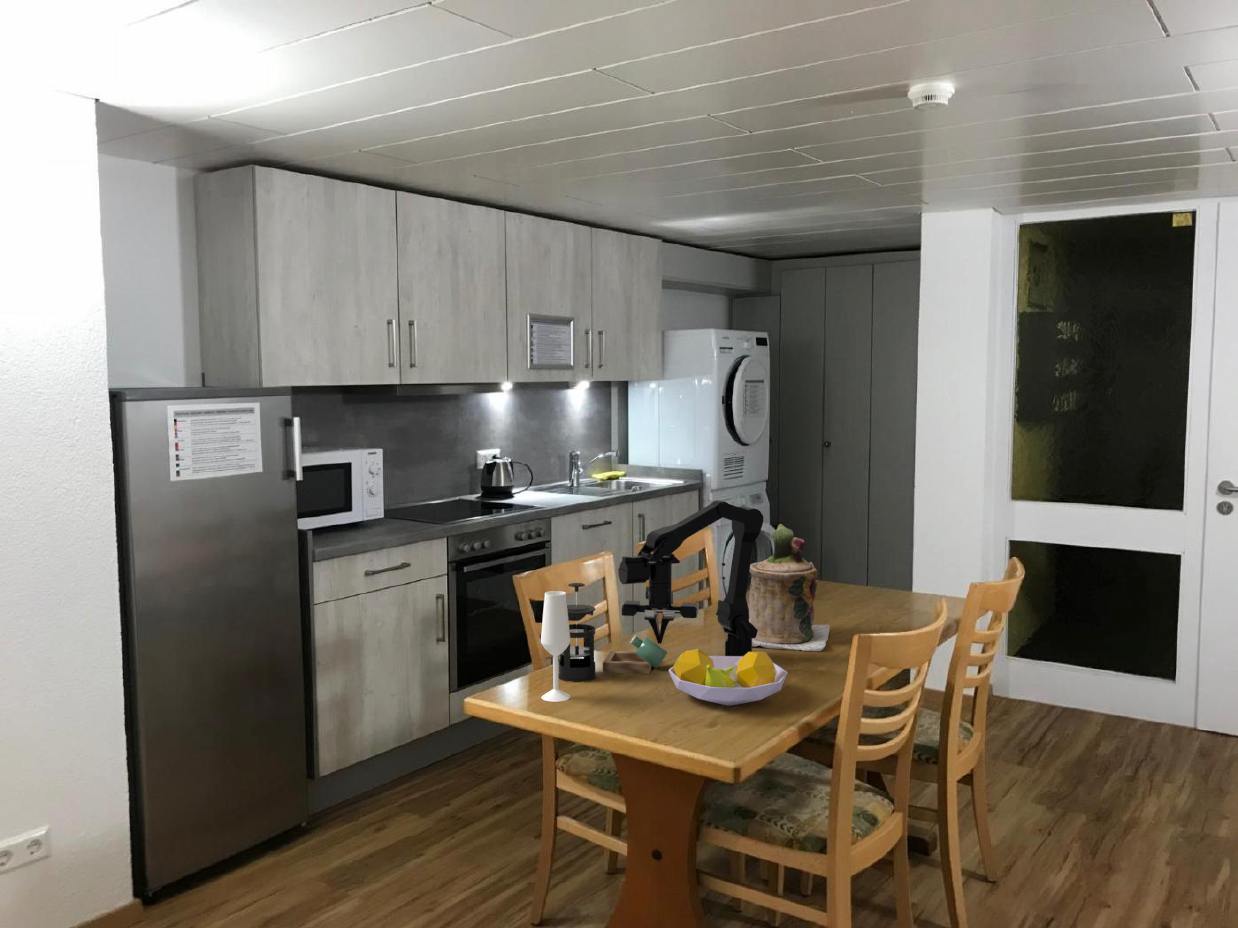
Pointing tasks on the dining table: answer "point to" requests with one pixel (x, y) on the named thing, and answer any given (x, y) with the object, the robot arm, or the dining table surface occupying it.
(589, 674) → the french press
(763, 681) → the fruit bowl
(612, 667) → the shallow wooden tray
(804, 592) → the cookie jar
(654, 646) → the bottle
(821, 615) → the dining table surface
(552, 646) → the champagne flute
